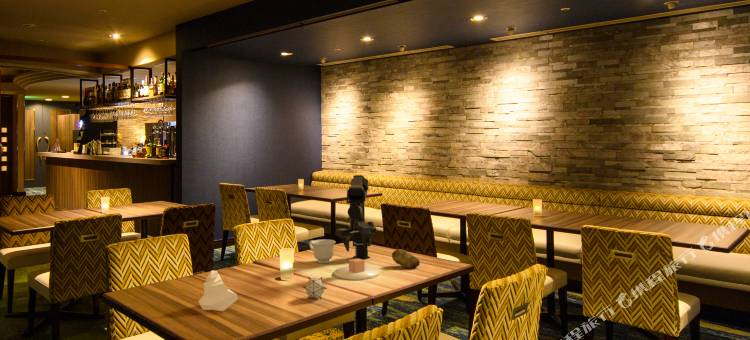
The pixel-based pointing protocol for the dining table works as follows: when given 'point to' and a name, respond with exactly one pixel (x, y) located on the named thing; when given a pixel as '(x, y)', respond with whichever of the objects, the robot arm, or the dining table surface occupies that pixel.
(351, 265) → the block
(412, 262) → the potato
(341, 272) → the plate
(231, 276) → the dining table surface
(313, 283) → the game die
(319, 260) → the teacup
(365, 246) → the robot arm
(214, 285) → the cream irregular lump
